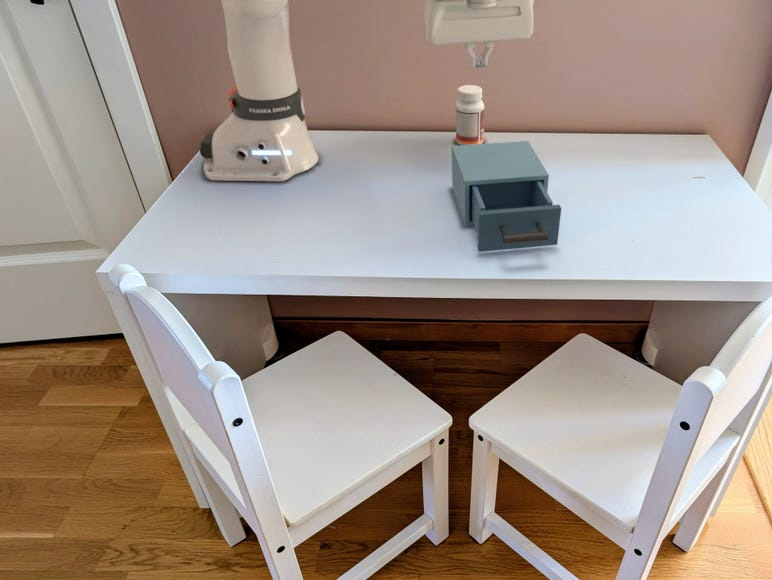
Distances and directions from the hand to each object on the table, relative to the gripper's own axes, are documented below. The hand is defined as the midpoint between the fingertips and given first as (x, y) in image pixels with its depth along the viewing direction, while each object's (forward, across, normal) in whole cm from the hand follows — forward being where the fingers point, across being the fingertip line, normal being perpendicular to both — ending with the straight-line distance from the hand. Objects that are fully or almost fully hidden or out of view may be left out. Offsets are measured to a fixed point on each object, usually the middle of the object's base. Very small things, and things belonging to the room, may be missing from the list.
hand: (478, 66), depth 115 cm
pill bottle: (+19, -1, -10) cm, 21 cm away
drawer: (+18, +4, +32) cm, 36 cm away
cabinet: (+19, +2, +19) cm, 27 cm away
